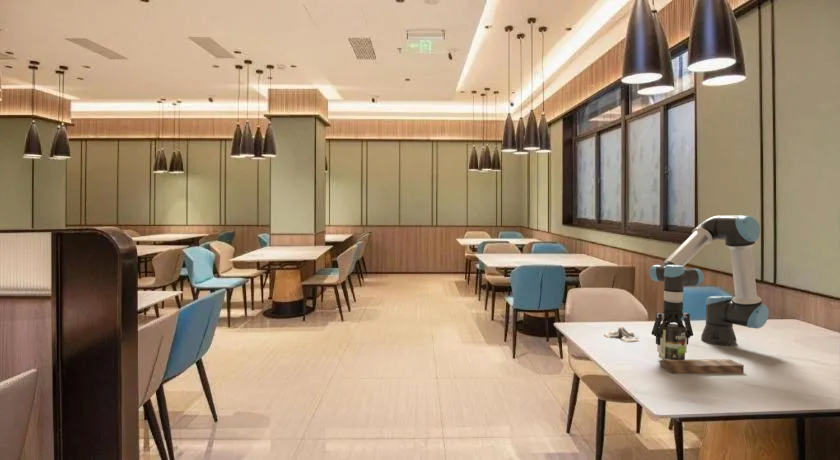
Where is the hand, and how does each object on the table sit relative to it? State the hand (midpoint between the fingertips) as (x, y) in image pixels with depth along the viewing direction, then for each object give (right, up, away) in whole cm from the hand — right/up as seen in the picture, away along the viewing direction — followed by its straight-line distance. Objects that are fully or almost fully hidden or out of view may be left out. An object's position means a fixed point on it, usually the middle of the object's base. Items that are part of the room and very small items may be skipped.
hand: (671, 352), depth 208 cm
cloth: (-3, -4, +43) cm, 43 cm away
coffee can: (0, -3, 0) cm, 3 cm away
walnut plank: (+7, -5, -10) cm, 13 cm away
